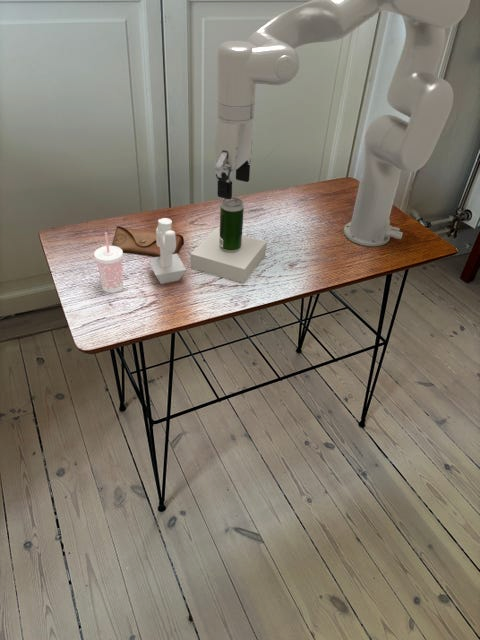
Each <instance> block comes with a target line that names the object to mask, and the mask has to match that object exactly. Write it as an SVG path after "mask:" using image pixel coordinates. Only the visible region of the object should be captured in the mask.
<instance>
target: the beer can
mask: <svg viewBox="0 0 480 640" xmlns="http://www.w3.org/2000/svg"><path fill="white" fill-rule="evenodd" d="M219 209H220V211H219V212H220V213H219V215H220V216H219V229H220V238H219V245H220V248H221V249H222V250H223V251H225V252H236V251H238V250H239V249H240V248H241V244H242V235H243V228H244V227H243V225H244V224H243V223H244V213H245V212H244V210H245V206H244V201H243V199H240V198H238V197H233V196H232V198H231V199H225V198H223V199H221V204H220V208H219Z"/></svg>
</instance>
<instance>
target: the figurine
mask: <svg viewBox="0 0 480 640" xmlns="http://www.w3.org/2000/svg"><path fill="white" fill-rule="evenodd" d="M172 226H173V221H172V219H170V218H168V217H162V218H158V220H157V227H156V229H155V232H156V244H157V246H158V247H160V257H150V258H147V261H148V263H149V264H150V267H151V269H152V271H153V273H154V275H155V277H156V279H157V280H158V281H159V283H160V285H162V284H169V283H173V282H178V281H180V280H181V278H182V277H183V275H184V274H185V272H186V271H187V268H186V266H185V264H184V263H183V260H181V258H180V256H179V253H178V254H172V253H173V252H174V251H175V249H176V235H175V234H176V232H175V231H174V230H173V229H172V228H173V227H172Z"/></svg>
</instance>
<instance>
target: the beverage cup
mask: <svg viewBox="0 0 480 640" xmlns="http://www.w3.org/2000/svg"><path fill="white" fill-rule="evenodd" d="M104 238H105V245H103V246H101V247H98V248H97V249H95V251H93V255H94V260H95V261H96V265H97V269H98V272H99V278H100V282H101V288H102V290H103V291H104V292H106V293H110V294H111V293H117V292H121V290H123V288H124V272H123V270H124V269H123V258H124V253H123V251H122V249H121V248H119V247H117V246H112V245H109V240H108V239H109V238H108V232H107V231H104Z"/></svg>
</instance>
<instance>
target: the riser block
mask: <svg viewBox="0 0 480 640" xmlns="http://www.w3.org/2000/svg"><path fill="white" fill-rule="evenodd" d="M219 238H220V228H217V227H216V228H214V230H213V231H211V233H210V234H208V235H207V236H206V237H205V238H204V239H203V241H201V243H200V244H198V246H196V248H195V249H193V251H192V252H190V257H189V258H190V269H193V270H197V271H201V272H203V273H207V274H210V275H213V276H216V277H221V278H224V279H227V280H230V281H234V282H237V283H241V284H245V282H246V281H247V280H248V278H249V277H250V276H251V274H253V272H254V271H255V270H256V268H257V267H258V265H259V264H260V263H261V261H262V260H263V259H264V258H265V256H266V251H267V241H265V240H262V239H259V238H255V237H251V236H246V235H243V234H242V244H241V248H240V249H239V250H238V251H236V252H225V251H223V250H222V249H221V248H220V245H219Z"/></svg>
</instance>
